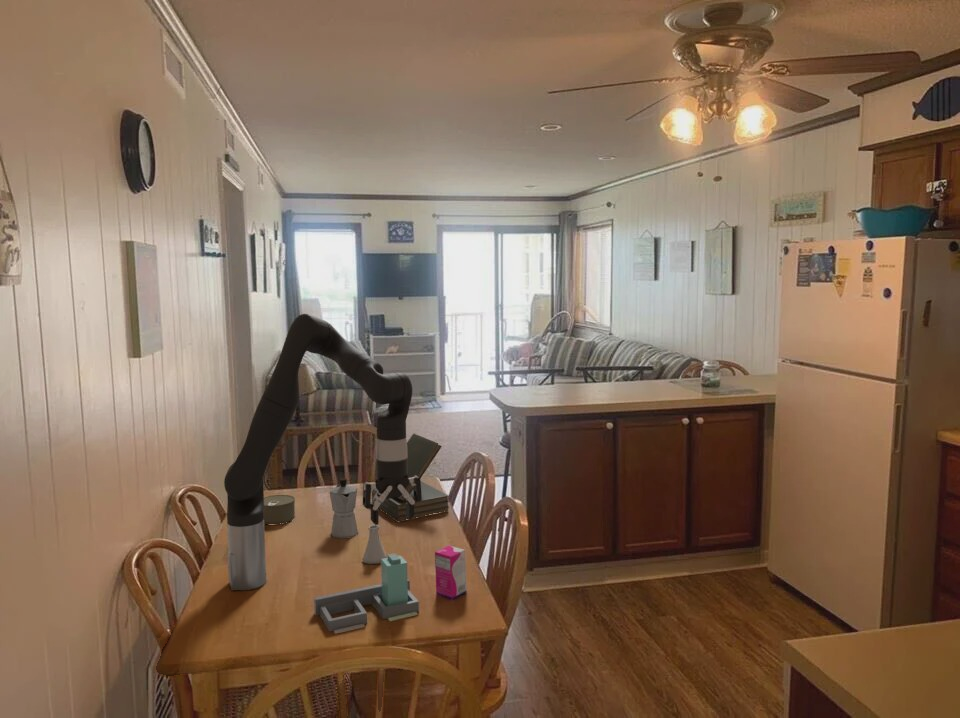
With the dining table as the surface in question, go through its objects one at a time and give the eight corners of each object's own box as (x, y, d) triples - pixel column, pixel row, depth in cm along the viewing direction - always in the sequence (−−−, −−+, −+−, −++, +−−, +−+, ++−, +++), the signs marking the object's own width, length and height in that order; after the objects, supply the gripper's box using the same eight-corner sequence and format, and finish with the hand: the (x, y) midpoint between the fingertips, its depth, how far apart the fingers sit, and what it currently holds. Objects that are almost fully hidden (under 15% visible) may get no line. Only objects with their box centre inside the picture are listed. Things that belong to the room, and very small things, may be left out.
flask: (382, 565, 194) (381, 531, 193) (358, 564, 195) (357, 530, 194) (390, 556, 201) (389, 523, 200) (367, 554, 202) (366, 521, 201)
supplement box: (450, 586, 180) (449, 544, 179) (467, 592, 176) (466, 549, 175) (434, 594, 176) (434, 551, 174) (452, 600, 172) (451, 556, 171)
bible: (371, 504, 249) (370, 437, 247) (419, 496, 259) (418, 431, 257) (398, 523, 230) (396, 450, 227) (449, 512, 240) (448, 443, 237)
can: (300, 514, 239) (300, 495, 238) (287, 526, 227) (286, 506, 226) (267, 513, 240) (267, 494, 239) (252, 525, 228) (252, 505, 227)
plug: (388, 614, 165) (387, 562, 164) (382, 605, 169) (381, 555, 168) (408, 609, 167) (407, 558, 166) (401, 601, 172) (400, 551, 170)
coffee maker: (362, 538, 215) (361, 482, 213) (334, 542, 212) (332, 485, 210) (353, 523, 229) (351, 470, 227) (326, 526, 226) (324, 473, 224)
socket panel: (326, 635, 155) (325, 619, 154) (314, 613, 166) (313, 597, 165) (425, 613, 165) (424, 597, 165) (407, 593, 176) (407, 578, 176)
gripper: (367, 463, 158) (368, 530, 160) (425, 456, 164) (425, 521, 166) (358, 455, 165) (359, 521, 166) (414, 449, 171) (414, 512, 172)
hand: (392, 521), depth 166 cm, fingers open, 8 cm apart
